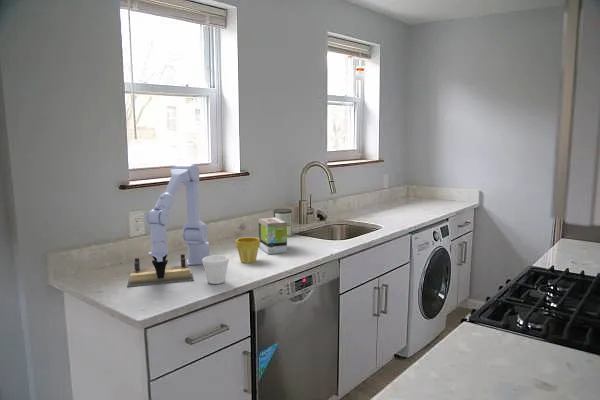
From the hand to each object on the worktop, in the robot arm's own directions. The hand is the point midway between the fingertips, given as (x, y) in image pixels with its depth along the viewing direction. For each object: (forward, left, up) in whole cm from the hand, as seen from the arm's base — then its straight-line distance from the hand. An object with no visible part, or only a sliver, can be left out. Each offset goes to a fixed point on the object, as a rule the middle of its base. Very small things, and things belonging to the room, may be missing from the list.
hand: (160, 275), depth 178 cm
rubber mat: (0, 0, -2) cm, 2 cm away
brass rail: (0, 0, -2) cm, 2 cm away
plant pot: (-37, -16, -2) cm, 40 cm away
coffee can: (-65, -62, -2) cm, 90 cm away
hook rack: (0, -11, -2) cm, 11 cm away
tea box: (-52, -32, -2) cm, 61 cm away
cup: (-20, +9, -2) cm, 22 cm away
